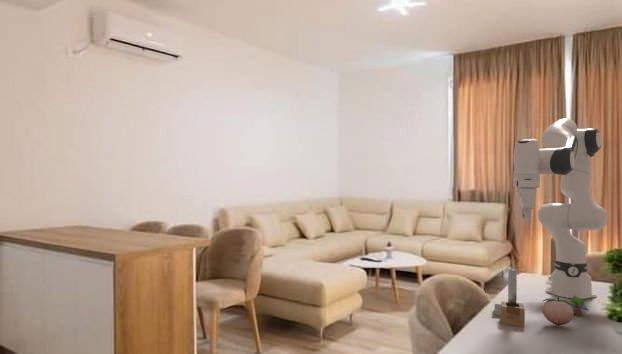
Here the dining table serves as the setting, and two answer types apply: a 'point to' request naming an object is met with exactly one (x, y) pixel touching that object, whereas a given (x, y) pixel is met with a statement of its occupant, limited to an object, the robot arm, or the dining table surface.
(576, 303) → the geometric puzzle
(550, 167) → the robot arm
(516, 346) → the dining table surface
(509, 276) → the pin gauge
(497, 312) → the block
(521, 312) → the brown cube-like block
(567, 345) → the dining table surface
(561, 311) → the decorative fruit
